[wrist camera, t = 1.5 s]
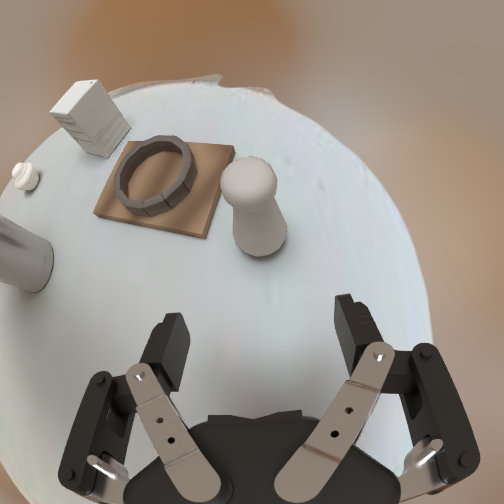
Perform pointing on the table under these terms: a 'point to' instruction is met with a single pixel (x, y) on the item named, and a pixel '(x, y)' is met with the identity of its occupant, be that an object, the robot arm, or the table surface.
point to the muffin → (25, 176)
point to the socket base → (166, 185)
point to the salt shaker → (254, 205)
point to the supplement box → (91, 117)
